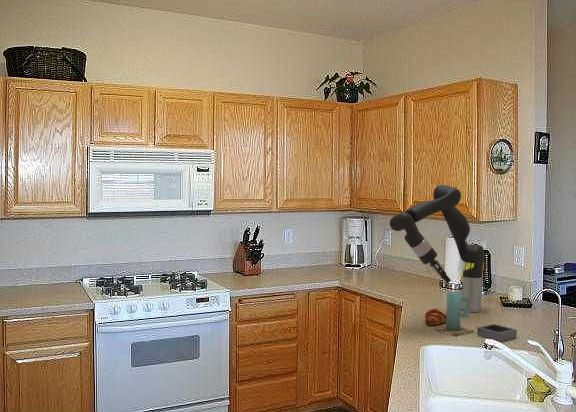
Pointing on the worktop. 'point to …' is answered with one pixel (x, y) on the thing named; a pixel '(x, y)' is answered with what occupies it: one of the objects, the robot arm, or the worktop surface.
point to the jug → (455, 310)
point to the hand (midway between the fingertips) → (446, 279)
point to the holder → (497, 332)
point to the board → (462, 331)
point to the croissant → (435, 317)
